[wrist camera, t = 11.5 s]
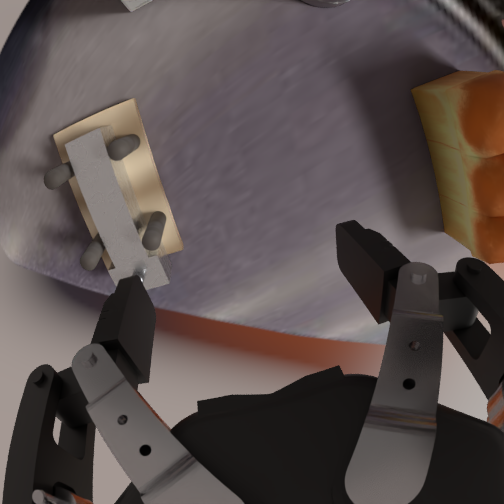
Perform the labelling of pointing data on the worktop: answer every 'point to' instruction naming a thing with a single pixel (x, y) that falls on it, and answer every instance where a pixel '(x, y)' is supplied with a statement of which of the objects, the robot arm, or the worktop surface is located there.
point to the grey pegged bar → (116, 210)
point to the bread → (468, 156)
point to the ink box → (134, 4)
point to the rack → (138, 169)
